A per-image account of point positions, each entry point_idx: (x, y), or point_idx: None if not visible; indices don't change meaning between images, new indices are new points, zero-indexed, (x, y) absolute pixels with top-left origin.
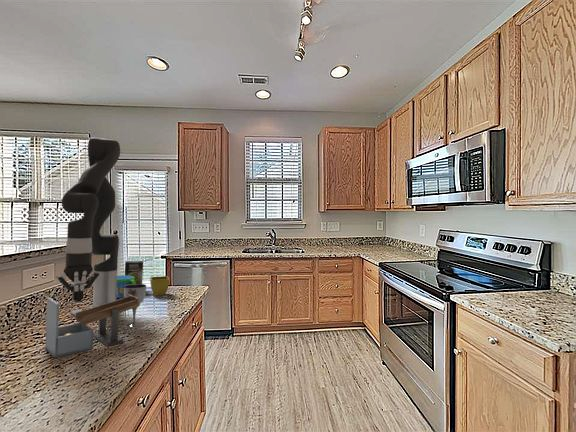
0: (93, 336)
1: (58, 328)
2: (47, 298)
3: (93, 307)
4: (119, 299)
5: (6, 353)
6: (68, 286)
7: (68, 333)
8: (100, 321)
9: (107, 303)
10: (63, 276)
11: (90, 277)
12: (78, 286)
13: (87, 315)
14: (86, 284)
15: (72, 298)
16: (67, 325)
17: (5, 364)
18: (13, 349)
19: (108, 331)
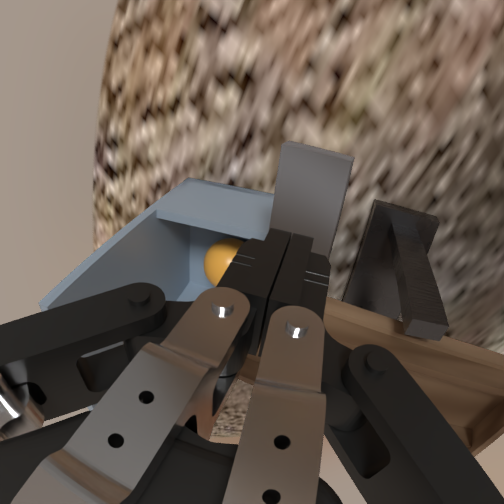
0: (372, 208)
1: (195, 224)
2: (43, 309)
3: (341, 341)
4: (484, 386)
5: (100, 127)
6: (118, 376)
7: (221, 276)
8: (396, 266)
9: (418, 371)
10: (2, 433)
11: (411, 500)
12: (267, 350)
13: (254, 382)
14: (335, 426)
15: (241, 244)
16: (233, 231)
17: (94, 213)
18: (117, 103)
19: (424, 243)
